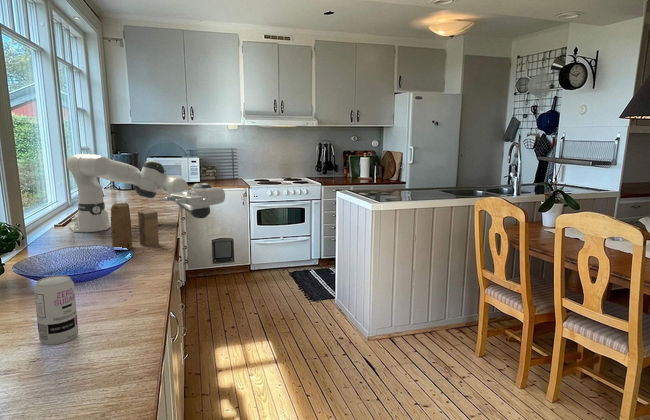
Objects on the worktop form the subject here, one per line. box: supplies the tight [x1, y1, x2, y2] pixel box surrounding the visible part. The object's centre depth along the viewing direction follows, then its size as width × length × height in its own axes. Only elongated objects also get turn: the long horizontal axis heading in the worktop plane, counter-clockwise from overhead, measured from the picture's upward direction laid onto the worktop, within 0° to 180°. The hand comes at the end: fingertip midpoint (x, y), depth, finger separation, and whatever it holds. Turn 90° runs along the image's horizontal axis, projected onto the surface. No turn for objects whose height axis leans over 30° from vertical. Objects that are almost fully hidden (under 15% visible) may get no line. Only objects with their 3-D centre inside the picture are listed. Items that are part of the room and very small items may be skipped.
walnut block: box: [137, 209, 160, 247], centre depth 193 cm, size 6×6×15 cm
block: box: [110, 202, 133, 250], centre depth 183 cm, size 11×8×20 cm
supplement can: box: [33, 275, 79, 346], centre depth 103 cm, size 8×8×15 cm
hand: (170, 200), depth 199 cm, fingers open, 8 cm apart
